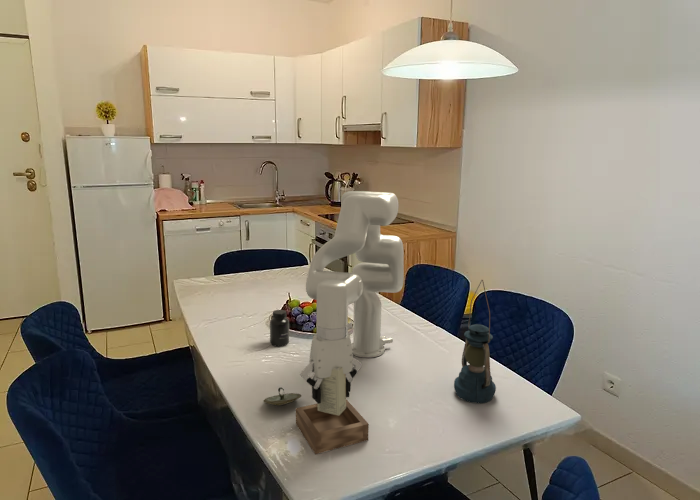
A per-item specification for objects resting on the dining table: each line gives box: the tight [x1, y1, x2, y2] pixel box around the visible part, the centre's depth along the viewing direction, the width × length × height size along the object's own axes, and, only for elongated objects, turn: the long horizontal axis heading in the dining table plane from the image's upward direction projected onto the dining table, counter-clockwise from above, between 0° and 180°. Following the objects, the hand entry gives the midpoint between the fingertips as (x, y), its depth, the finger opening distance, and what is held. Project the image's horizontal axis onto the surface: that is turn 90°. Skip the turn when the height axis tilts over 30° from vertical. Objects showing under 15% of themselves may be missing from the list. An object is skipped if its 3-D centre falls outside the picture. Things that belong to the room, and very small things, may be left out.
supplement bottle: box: [269, 309, 290, 347], centre depth 180 cm, size 7×7×12 cm
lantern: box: [453, 279, 497, 404], centre depth 143 cm, size 14×12×35 cm
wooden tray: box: [295, 398, 370, 455], centre depth 127 cm, size 14×14×4 cm
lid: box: [262, 387, 303, 406], centre depth 139 cm, size 11×10×5 cm
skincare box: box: [316, 367, 347, 416], centre depth 124 cm, size 6×4×12 cm
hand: (331, 397), depth 125 cm, fingers closed on skincare box, 7 cm apart
